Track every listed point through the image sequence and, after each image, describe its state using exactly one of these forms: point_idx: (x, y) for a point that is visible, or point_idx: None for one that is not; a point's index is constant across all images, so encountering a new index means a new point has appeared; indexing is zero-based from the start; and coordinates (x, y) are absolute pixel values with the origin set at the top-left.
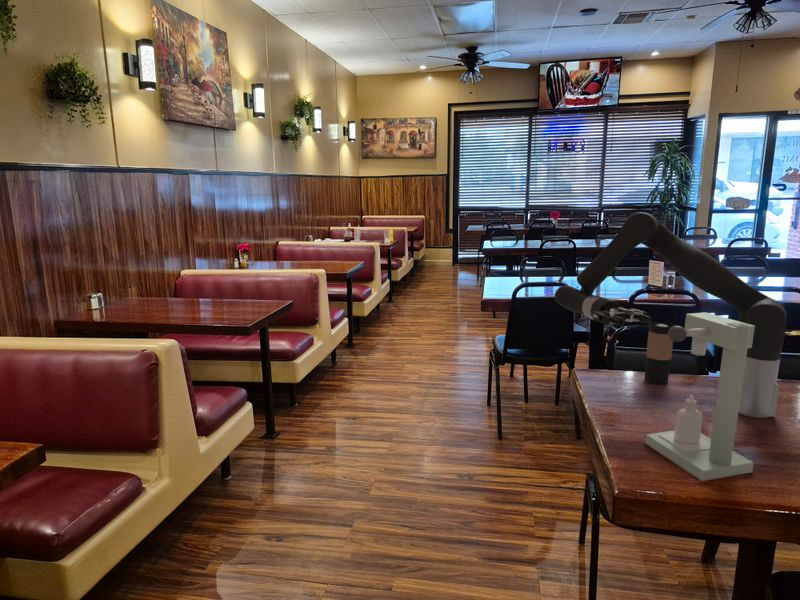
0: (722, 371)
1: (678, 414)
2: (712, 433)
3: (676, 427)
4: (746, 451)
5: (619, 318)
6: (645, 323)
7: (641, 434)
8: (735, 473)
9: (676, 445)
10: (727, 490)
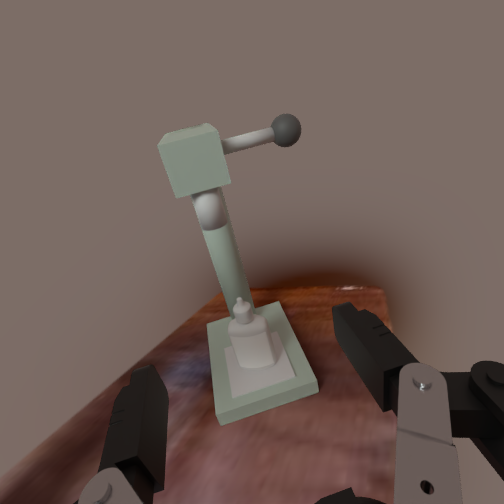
0: (225, 204)
1: (267, 324)
2: (248, 292)
3: (272, 342)
4: (170, 381)
5: (363, 317)
6: (167, 415)
7: (314, 430)
8: None
9: (282, 345)
10: (263, 301)
